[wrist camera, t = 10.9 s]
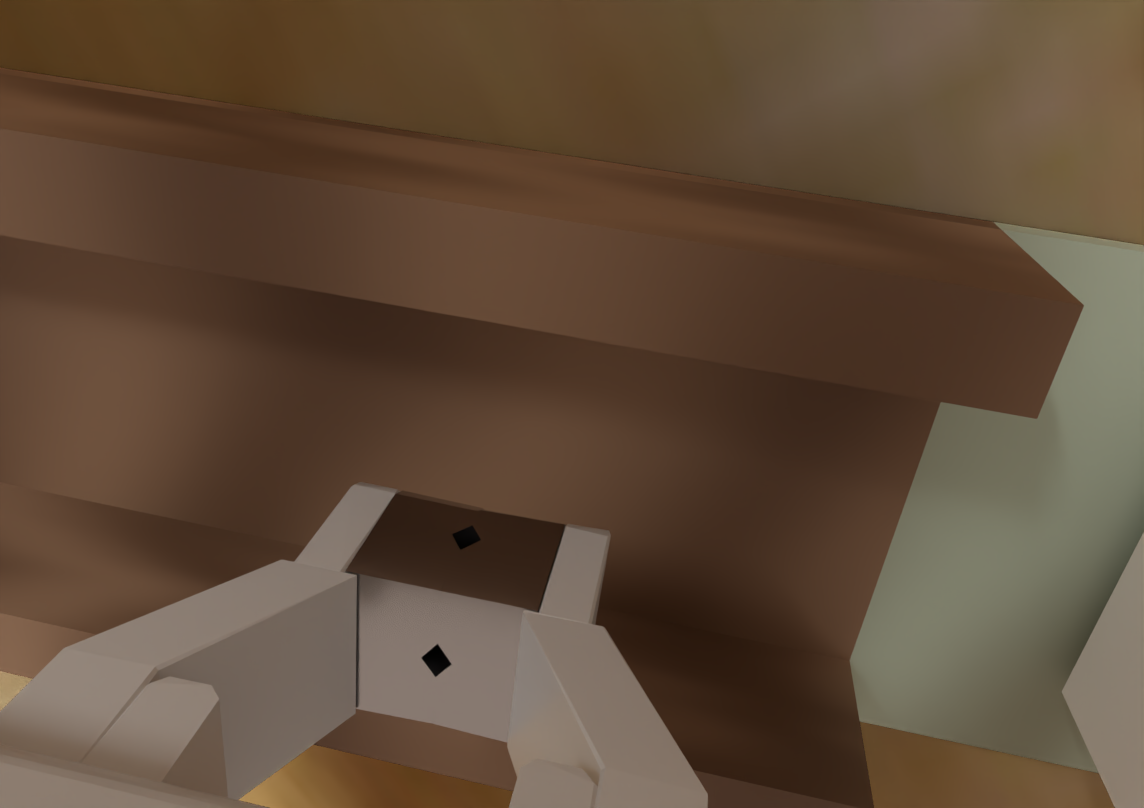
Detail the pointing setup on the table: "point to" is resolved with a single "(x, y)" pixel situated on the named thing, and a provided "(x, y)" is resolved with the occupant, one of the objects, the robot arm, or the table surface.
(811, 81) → the table surface
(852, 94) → the table surface
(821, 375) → the chute
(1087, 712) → the block
